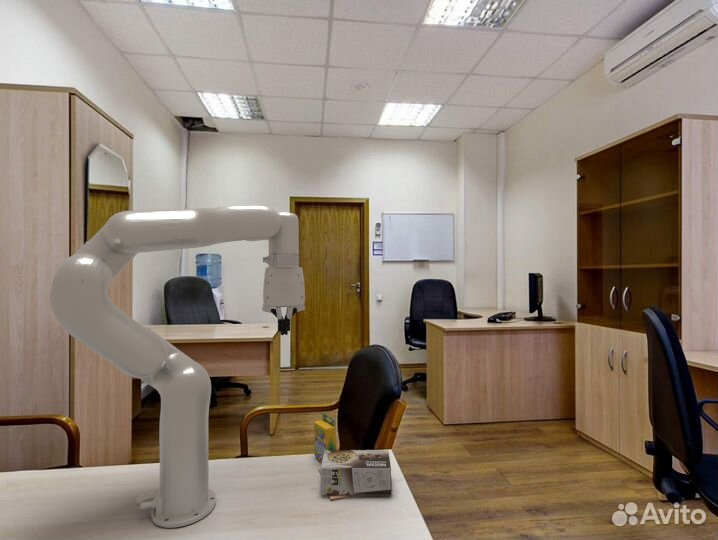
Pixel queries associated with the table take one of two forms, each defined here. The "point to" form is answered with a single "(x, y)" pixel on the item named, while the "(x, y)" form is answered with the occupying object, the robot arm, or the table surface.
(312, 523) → the table surface
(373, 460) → the coffee box
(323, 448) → the crayon box
